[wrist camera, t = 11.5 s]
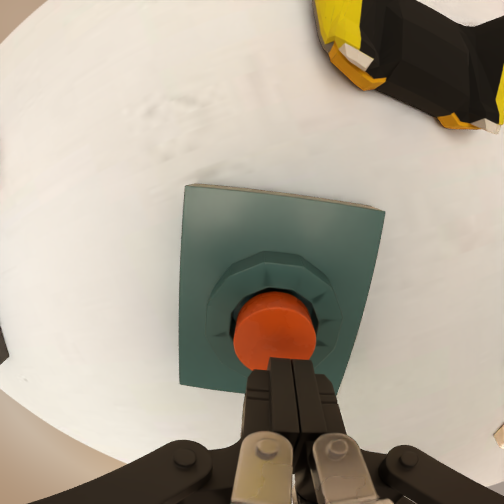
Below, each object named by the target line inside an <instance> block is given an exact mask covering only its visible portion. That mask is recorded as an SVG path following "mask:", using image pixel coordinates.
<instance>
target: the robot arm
mask: <svg viewBox="0 0 504 504" xmlns="http://www.w3.org/2000/svg"><path fill="white" fill-rule="evenodd" d="M292 474H295V484H294V486H293V489H292ZM404 496H406V497H407V498H406V497H404ZM292 498H293V504H416V503H417V504H504V496H502V495H500V494H498V493H496V492H494V491H492V490H490V489H488V488H486V487H485V486H483V485H481V484H479V483H477V482H475V481H473V480H471V479H469V478H468V477H466V476H464V475H462V474H460V473H458V472H457V471H455V470H453V469H451V468H450V467H448V466H446V465H444V464H443V463H441V462H439V461H437V460H436V459H434V458H432V457H431V456H429V455H427V454H426V453H424V452H422V451H421V450H419V449H417V448H415V447H413V446H409V445H400V446H396V447H394V448H392V449H391V450H390V451H389V453H388V454H381V453H375V452H369V451H365V450H362V449H360V448H359V446H358V444H357V443H356V441H355V440H353V439H352V438H351V437H349V436H347V434H346V431H345V427H344V424H343V420H342V416H341V413H340V409H339V406H338V404H337V398H336V395H335V391H334V388H333V384H332V383H331V381H330V380H329V379H328V378H327V377H326V376H325V375H324V374H315V372H314V368H313V363H312V361H311V360H303V359H291V360H290V359H288V358H277V357H270V358H269V362H268V367H267V370H259V369H254V370H253V371H252V372H251V374H250V375H249V376H248V378H247V385H246V391H245V398H244V404H243V415H242V427H241V438H240V440H239V441H238V442H237V443H235V444H234V445H232V446H230V447H227V448H223V449H216V450H208V449H206V448H205V447H204V446H203V445H201V444H199V443H197V442H194V441H190V440H176V441H172V442H170V443H168V444H166V445H164V446H162V447H160V448H158V449H157V450H155V451H153V452H151V453H149V454H147V455H145V456H143V457H141V458H139V459H137V460H135V461H133V462H131V463H129V464H127V465H125V466H123V467H121V468H119V469H116V470H114V471H112V472H110V473H108V474H105V475H103V476H101V477H99V478H97V479H94V480H92V481H89V482H87V483H84V484H82V485H79V486H77V487H74V488H72V489H69V490H67V491H64V492H61V493H58V494H55V495H53V496H50V497H47V498H44V499H41V500H38V501H34V502H31V503H28V504H291V501H292ZM408 498H409V499H410V500H409V499H408ZM411 500H412V501H414V502H415V503H414V502H412V501H411Z"/></svg>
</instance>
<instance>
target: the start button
mask: <svg viewBox="0 0 504 504" xmlns="http://www.w3.org/2000/svg"><path fill="white" fill-rule="evenodd" d="M233 344H234V350H235V353H236V355H237V357H238V358H239V360H240V361H241V362H242V363H243V364H244V365H245V366H246V367H247V368H249V369H250V370H252V371H253V370H254V369H259V370H267V367H268V362H269V358H270V357H277V358H288V359H290V360H291V359H303V360H309V359H310V357H311V356H312V354H313V352H314V349H315V346H316V333H315V330H314V327H313V324H312V320H311V317H310V314H309V311H308V309H307V308H306V306H305V305H304V304H303V303H302V301H300V300H299V299H298V298H296V297H295V296H293V295H290V294H288V293H284V292H276V291H273V292H265V293H262V294H259V295H257V296H254V297H253V298H251V299H250V300H248V301H247V302H246V303H245V304H244V305H243V307H242V308H241V310H240V311H239V313H238V316H237V321H236V327H235V333H234V342H233Z"/></svg>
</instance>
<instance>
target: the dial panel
mask: <svg viewBox="0 0 504 504" xmlns="http://www.w3.org/2000/svg"><path fill="white" fill-rule="evenodd" d="M8 357H9V355H8V352H7V349H6V346H5V342H4V339H3V336H2V332H1V328H0V364H1V363H3V362H4V361H5V360H6V359H7V358H8Z"/></svg>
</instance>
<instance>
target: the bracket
mask: <svg viewBox="0 0 504 504" xmlns="http://www.w3.org/2000/svg"><path fill="white" fill-rule="evenodd" d="M494 438H495V440H496V442H497V443H498V445H499V447H500V448H503V449H504V425H503V426H502V427H501V428H500V429H499V430H498V431H497V432H496V433H495V434H494Z"/></svg>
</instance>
